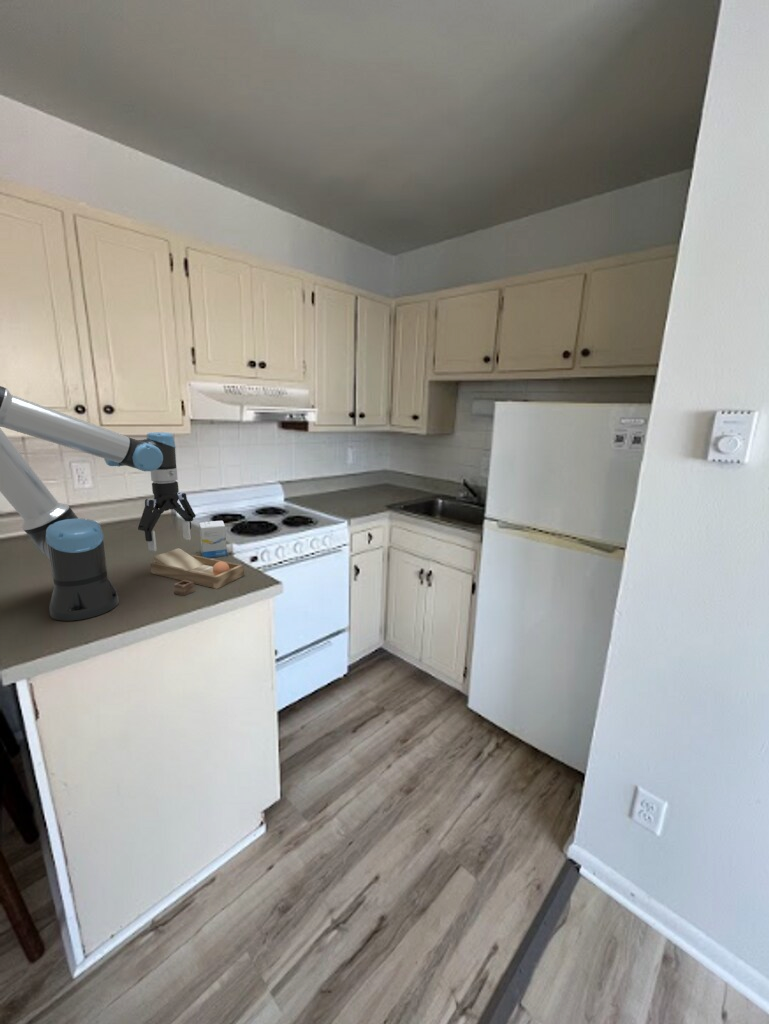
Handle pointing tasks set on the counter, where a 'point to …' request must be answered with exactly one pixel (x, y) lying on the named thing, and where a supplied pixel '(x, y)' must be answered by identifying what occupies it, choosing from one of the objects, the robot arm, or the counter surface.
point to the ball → (220, 568)
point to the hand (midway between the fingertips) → (170, 544)
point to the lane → (194, 569)
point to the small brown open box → (184, 587)
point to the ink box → (213, 539)
